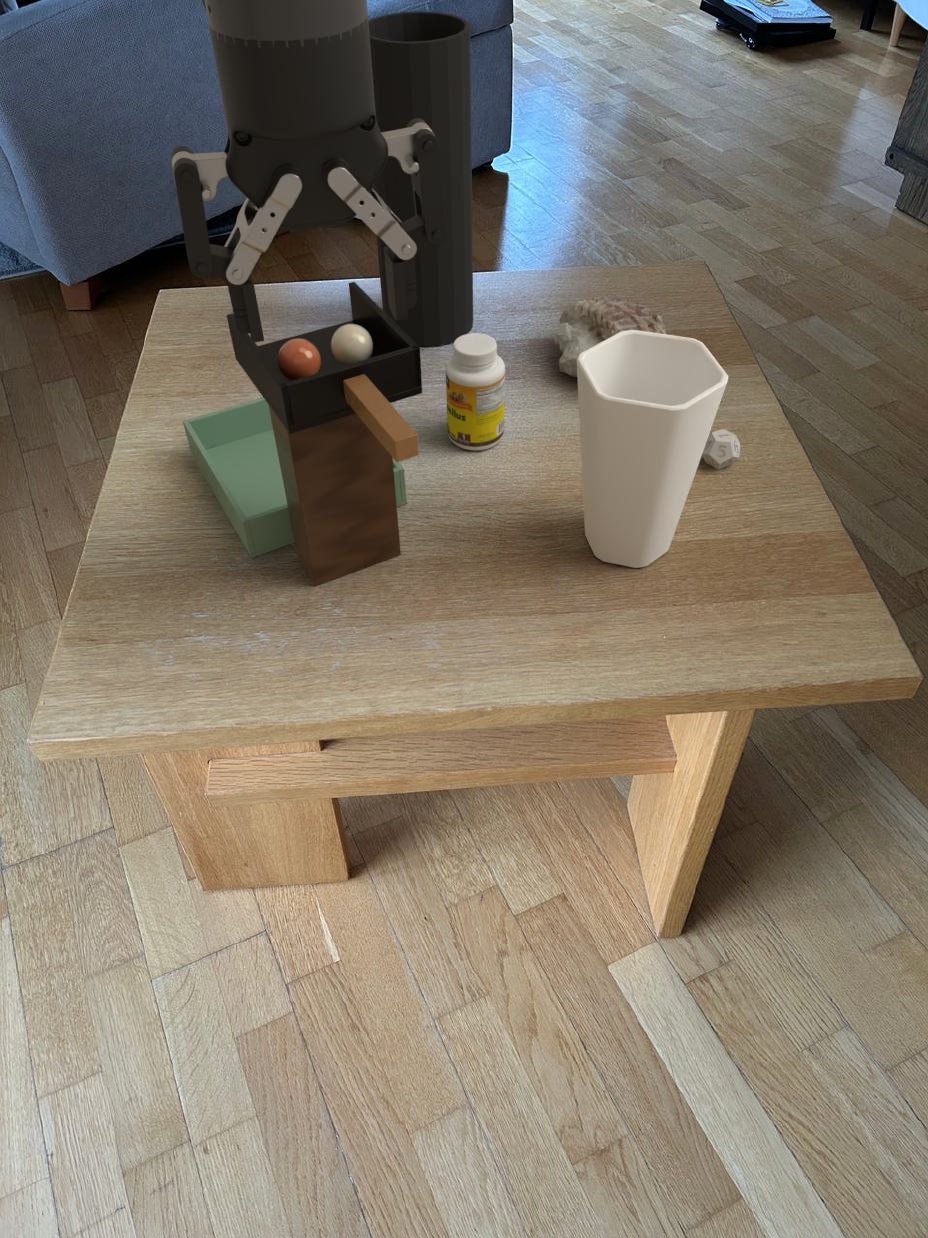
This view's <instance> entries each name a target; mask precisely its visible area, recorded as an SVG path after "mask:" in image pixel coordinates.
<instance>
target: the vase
mask: <svg viewBox="0 0 928 1238" xmlns="http://www.w3.org/2000/svg"><path fill="white" fill-rule="evenodd" d="M368 22H369V35H370V49H371V61H372V74H373V87H374V99H375V112H376V120H377V124H378V127H379V130H380V132H381V133H382V132H387V131H393V130H398V129H403V128H406V127H407V125H408V123H409V122H410V121H411V120H412V119H415V118H419V119H422V120H424V121H425V123H426V124H427V125H428V126H429V128H430V129H431V130H432V132H433V133H434V135H435V136H436V138H437V139H438V141H439V149H440V160H441V171H442V182H443V193H444V204H445V215H446V226H447V237H446V239H445V240H444V242H442V243H441V244H439V245H433V244H429V245H427V246H425V247H423V248H422V249H420V250H419V251H418V253H417V254H416V256H415V275H416V293H417V301H416V304H415V307H414V308H411V309H407V313H408V318H407V319H402V320H395V318H394V316H393V314H392V312H391V310H390V307H389V302H388V292H387V280H386V267H385V255H384V247H388V245H387V244H386V243H385V242H384V241H383V240H382V239H381V238H380V237H378V236H377V235H376V234H375V235H376V246H377V247H376V248H377V257H378V258H377V259H378V269H379V270H378V271H379V282H380V283H379V284H380V292H381V306H382V310H383V311H384V312H385V313H386V314H387V315H388V316H389V317H390V318H391V319H392V320H393V321H394V322H395V323H396V324H397V325H398V326H399V327H400V328H401V329H402V330H403V331H404V332H405V333H406V334H407V335H408V336H409V337H410V338H411V339H412V340H413V341H414V342H415V343H416V344H417V345H418V346H419V347H425V348H427V347H439V346H440V347H441V346H444V345H449V344H450V343H452V344H453V343H454V342H455V340H456V339H457V338H458V337H460V336H462V335H465V334H469V332H470V331H471V330H472V329H473V326H474V266H473V265H474V260H473V259H474V258H473V253H474V252H473V251H474V249H473V172H472V170H473V169H472V167H473V166H472V165H473V163H472V159H473V158H472V84H471V81H472V78H471V77H472V76H471V74H472V73H471V72H472V71H471V69H472V68H471V23H469V22H468V20H466V19H465V18H464V17H461V16H458V15H455V14H451V13H446V12H440V11H427V10H426V11H425V10H424V11H423V10H416V11H415V10H414V11H400V12H393V13H387V14H382V15H379V16H376V17H372V18H369V19H368ZM373 189H374V190H375V191H376V193H377V194H378V195H379V196H380V197H381V199H382V200H383V201H384V203H385V204H386V205H387V206H388V207H389V208H390V209H391V211H392V212H393V213H394V214H395V215H396V216H397V217H398V218H399V219H400V220H401V222H404V221H406V220H408V219H410V218H412V217H414V216H415V206H414V198H413V189H412V180H411V174H408V173H406V172H404V170H403V169H402V167H401V166H400V164H399V163H398V160H397V158H396V157H393V156H388V159H387V162H386V164H385V166H384V168H383V170H382V171H381V173H380V175H379V177H378V179H377V180H376V182H375V184H374V186H373Z"/></svg>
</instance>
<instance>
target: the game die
mask: <svg viewBox="0 0 928 1238" xmlns="http://www.w3.org/2000/svg"><path fill="white" fill-rule="evenodd" d="M740 453H741V442H740V440H739V439H738V437H737V435H736V434H735V433H733V432H731V431H729V430H727V429H725V428H721V429H718V430H714V431H710V433H709V436H708V439H707V442H706V445H705V447H704V450H703V453H702V456H701V458H702V459H703V460H704V462H705V464H707V465H709V466H711V467H713V468H714V469H716V470H720V469H722V468H726V467H729V466H731V465H732V464H733V463H735V462H736V461H737V460H738V459H739V458H740Z"/></svg>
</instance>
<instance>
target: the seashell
mask: <svg viewBox="0 0 928 1238" xmlns="http://www.w3.org/2000/svg"><path fill="white" fill-rule="evenodd" d="M627 330H638V331H645V332H652V333H659V334H666V335H668V334H667V330H666V326H665V323H664V314H663V313H662V312H661V313H659V314H656V313H654V311H652V309H651V308H650V307H649V306H643V305H642V304H641V303H640V302H638V301H636V302H633V301H631V300H630V299H628V298H626V300H625V301H623V299H621V297H619V296H617V295H615V299H613V300H611V299H609V298H607V297H606V296H602V297H600V298H598V297H597V296H594V297H592V298H590V299H589V300H587V299H585V298H584V299H582V300H578V301H575V302H573V303H571V304H569V305H567V306H566V308H565V309H564V310H563V311H562V313H561V315H560V318H559V324H558V329H557V332H555V333H553V339H554V344H555V346H557V347H558V348H559V351H561V352H562V355H561V356H560V357H559V359H558V366H559V371H560V372H562V373H566V374H567V375H568V376H571V377H572V378H577V358H578V356H579V354H580V353H582V352H584V351H586V350H588V349H590V348H591V347H593V346H595V345H597V344H599V343H601V342H603V341H605V340H606V339H608V338H610V337H612V336H614V335H616V334H618V333H620V332H621V331H627Z"/></svg>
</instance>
